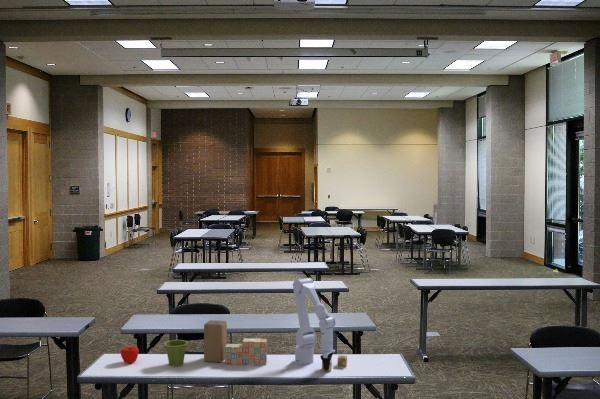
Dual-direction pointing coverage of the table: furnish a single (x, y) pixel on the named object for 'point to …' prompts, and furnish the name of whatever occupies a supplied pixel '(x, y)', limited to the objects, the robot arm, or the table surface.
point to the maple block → (329, 366)
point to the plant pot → (176, 351)
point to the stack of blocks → (247, 352)
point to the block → (215, 340)
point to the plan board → (342, 367)
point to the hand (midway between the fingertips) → (326, 368)
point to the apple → (129, 354)
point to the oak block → (342, 361)
